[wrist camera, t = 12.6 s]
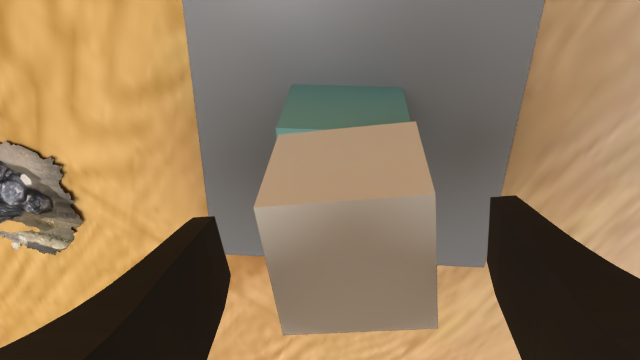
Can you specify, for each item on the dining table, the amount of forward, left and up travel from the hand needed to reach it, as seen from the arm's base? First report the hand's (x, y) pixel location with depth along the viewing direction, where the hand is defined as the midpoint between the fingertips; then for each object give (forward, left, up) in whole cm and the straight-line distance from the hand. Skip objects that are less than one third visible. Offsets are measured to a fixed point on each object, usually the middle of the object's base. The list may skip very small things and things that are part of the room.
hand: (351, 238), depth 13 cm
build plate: (0, 0, -8) cm, 8 cm away
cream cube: (0, 0, -3) cm, 3 cm away
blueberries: (+16, +4, -8) cm, 19 cm away
